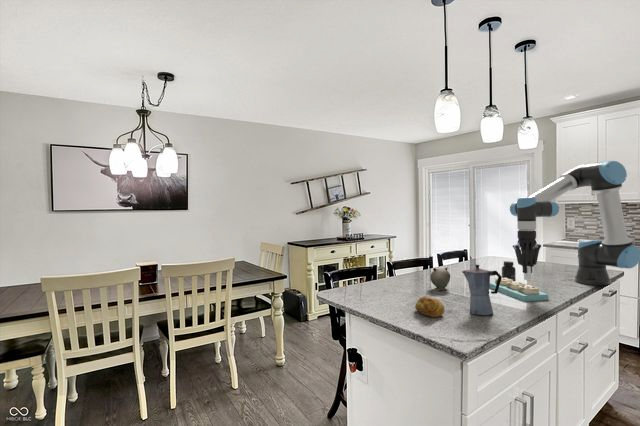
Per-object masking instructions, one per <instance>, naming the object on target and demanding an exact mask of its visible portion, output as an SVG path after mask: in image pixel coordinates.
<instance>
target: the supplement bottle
mask: <svg viewBox="0 0 640 426" xmlns="http://www.w3.org/2000/svg"><path fill="white" fill-rule="evenodd" d="M516 275H517V274H516V267H515V266H514V262H513V261H510V260H509V261H508V260H507V261H503V265H502V266H501V277H502V278H508V279H511V280H513V282H514V281H517V280H516V279H517V278H516Z"/></svg>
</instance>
